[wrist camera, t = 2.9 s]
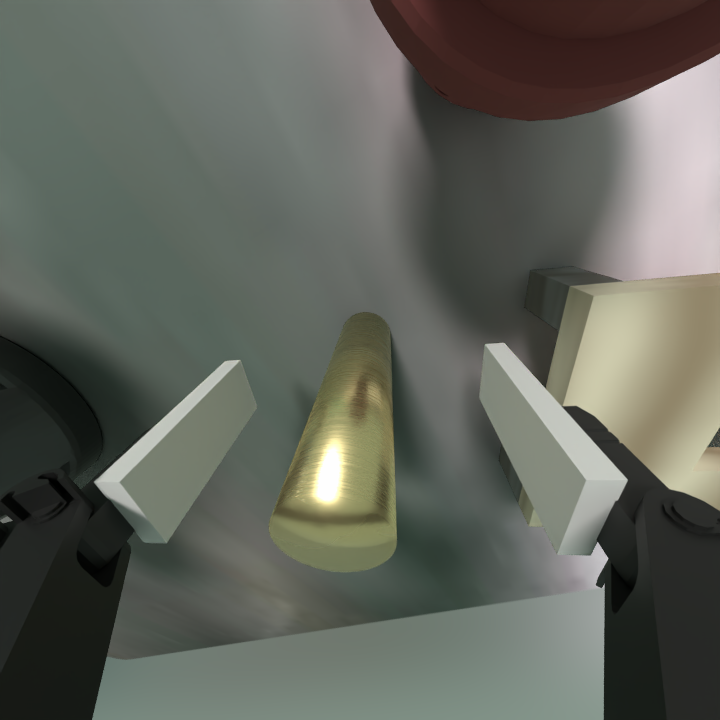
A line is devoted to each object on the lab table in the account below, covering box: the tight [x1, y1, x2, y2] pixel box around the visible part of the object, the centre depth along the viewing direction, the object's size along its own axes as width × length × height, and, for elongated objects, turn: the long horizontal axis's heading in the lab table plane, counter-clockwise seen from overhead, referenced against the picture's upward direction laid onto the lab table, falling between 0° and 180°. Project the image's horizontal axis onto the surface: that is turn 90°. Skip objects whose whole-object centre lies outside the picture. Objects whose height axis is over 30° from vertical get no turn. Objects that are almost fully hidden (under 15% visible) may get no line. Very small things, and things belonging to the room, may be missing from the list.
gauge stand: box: [499, 267, 720, 527], centre depth 14 cm, size 18×14×5 cm
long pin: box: [269, 312, 397, 572], centre depth 12 cm, size 3×3×12 cm
